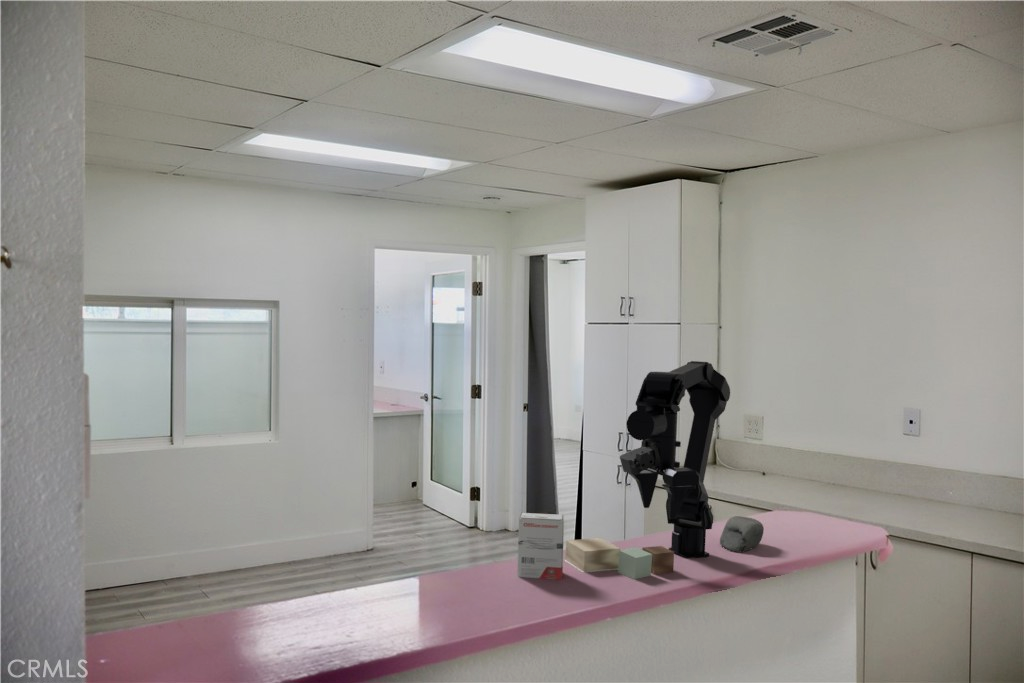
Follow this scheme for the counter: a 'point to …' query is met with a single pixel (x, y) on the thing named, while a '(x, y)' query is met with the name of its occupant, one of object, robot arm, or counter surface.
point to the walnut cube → (661, 559)
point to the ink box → (540, 546)
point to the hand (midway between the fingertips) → (658, 513)
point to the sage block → (634, 563)
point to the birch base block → (592, 554)
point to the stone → (741, 534)
